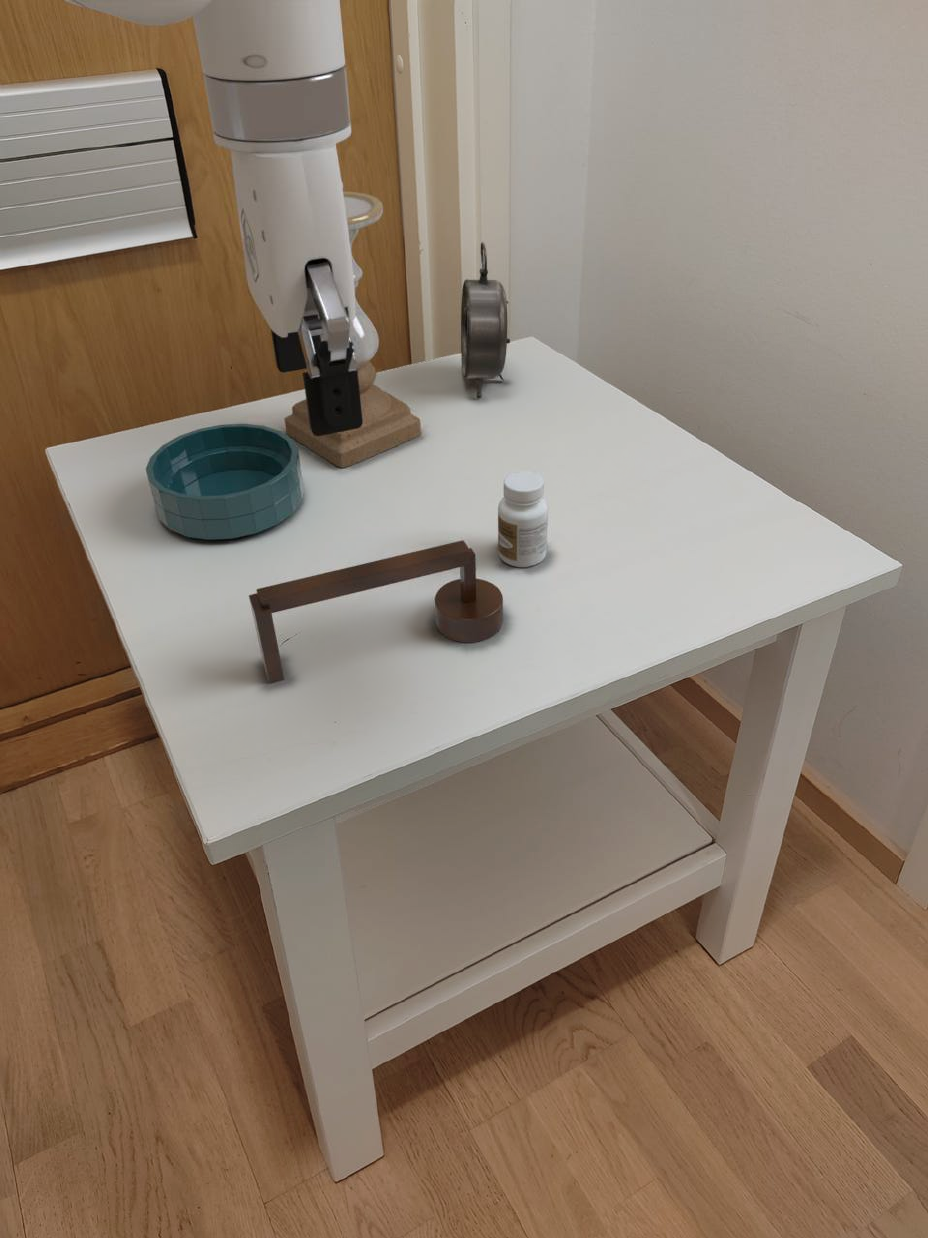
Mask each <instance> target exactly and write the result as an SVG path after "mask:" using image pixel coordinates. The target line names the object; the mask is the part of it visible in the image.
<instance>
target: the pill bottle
mask: <svg viewBox="0 0 928 1238" xmlns="http://www.w3.org/2000/svg"><path fill="white" fill-rule="evenodd" d="M544 486H545V482H544V479H543V477H542V476H541V475H540V474H538V473H536V472H533V471H529V470H518V471H513V472H511V473H509V474H507V475H506V476H505V477H504V479H503V497H502V498H501V499H500V501H499V502H498V506H497V553H498V556H499V559H501V560H502V561H503V562H504V563H505V564H507V565H510V566H512V567H517V568H529V567H533V566H535V565H538V564H540V563H541V562H542V561H544V559H545V558H546V556H547V552H548V525H549V505H548V502H547V500H546V499H545V498H544V493H545V490H544V489H545V487H544Z"/></svg>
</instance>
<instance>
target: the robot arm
mask: <svg viewBox="0 0 928 1238" xmlns="http://www.w3.org/2000/svg"><path fill="white" fill-rule="evenodd" d="M63 1H65V2H67V3H69V4H71V5H75V6H78V7H82V8H85V9H88V10H91V11H94V12H98V13H101V14H102V13H104V14H107V15H110V16H113V17H115V18H118V19H120V20H124V21H127V22H130V23H133V24H137V25H140V26H150V27H163V26H168V25H175V24H179V23H182V22H184V21H186V20H189V19H191V18H192V21H193V27H194V31H195V38H196V43H197V48H198V49H197V50H198V55H199V61H200V66H201V71H202V77H203V81H204V82H203V83H204V88H205V94H206V99H207V105H208V111H209V116H210V117H209V118H210V122H211V123H210V124H211V128H212V129H211V130H212V135H213V141H214V144H215V145H217V146H218V147H220V148H222V149H226V150H228V151H230V152H231V166H232V176H233V183H234V184H233V185H234V193H235V201H236V207H237V214H238V215H237V216H238V222H239V231H240V236H241V237H240V238H241V244H242V252H243V260H244V267H245V268H244V269H245V276H246V282H247V286H248V289H249V292H250V295H251V296H252V299H253V300H254V302H255V305H256V306H257V308H258V310H259V311H260V314H261V315H262V317H263V318H264V320H265V322H266V323H267V325H268V327H269V328H270V334H271V339H272V347H273V353H274V358H275V359H274V360H275V365H276V368H277V370H278V371H279V372H281V373H289V372H295V371H301V370H305V369H307V371H306V372H302V378H303V379H302V380H303V385H304V393H305V399H306V401H307V408H308V415H309V422H310V429H311V431H312V433H313V434H314V435H315V436H322V435H327V434H333V433H338V432H343V431H348V430H353V429H357V428H360V427H361V426H362V424H363V420H362V410H361V400H360V390H359V381H358V371H357V363H356V358H355V354H354V349H353V346H354V345H353V343H352V342H351V338H350V324H351V323H352V322H353V320H354V319H355V313H356V308H355V298H356V290H355V288H354V277H353V267H352V258H351V249H350V241H349V232H348V224H347V217H346V209H345V202H344V195H343V191H344V183H343V180H342V175H341V168H340V162H339V156H338V150H337V144H339V143H341V142H343V141H345V140H347V139H348V138H350V137H351V135H352V122H351V110H350V101H349V99H350V98H349V89H348V78H347V68H346V57H345V46H344V34H343V33H344V32H343V24H342V13H341V12H342V11H341V1H340V0H63ZM318 314H319V317H320V319H318ZM321 334H322V335H323V338H324V341H321V336H320V335H321Z"/></svg>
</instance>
